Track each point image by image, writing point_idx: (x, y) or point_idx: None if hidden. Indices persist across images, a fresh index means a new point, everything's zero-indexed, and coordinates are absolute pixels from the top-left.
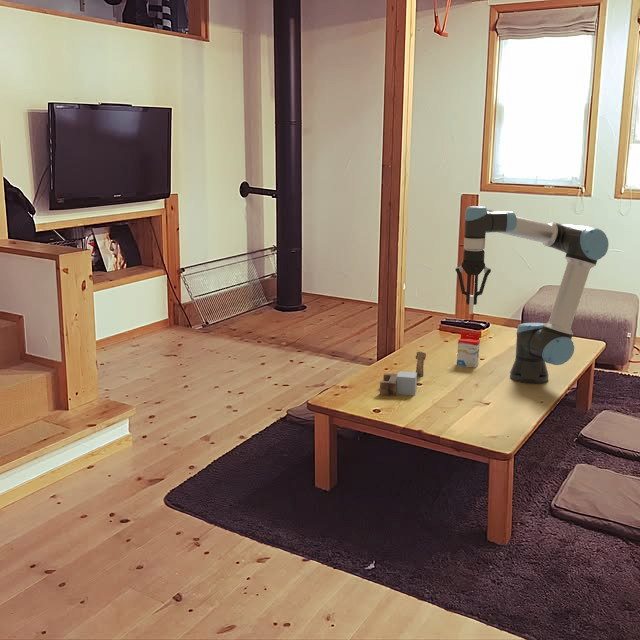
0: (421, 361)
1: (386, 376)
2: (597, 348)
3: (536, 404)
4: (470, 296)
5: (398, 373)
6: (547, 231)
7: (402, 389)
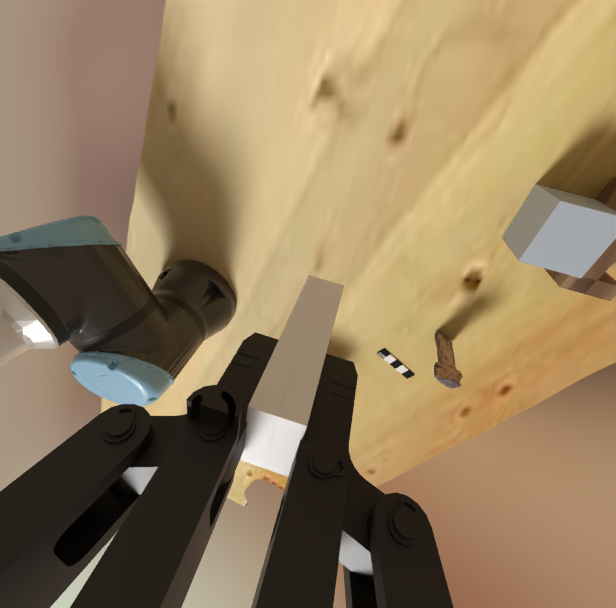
0: (445, 360)
1: (610, 282)
2: (101, 407)
3: (184, 85)
4: (296, 422)
5: (598, 256)
6: None
7: (583, 199)
